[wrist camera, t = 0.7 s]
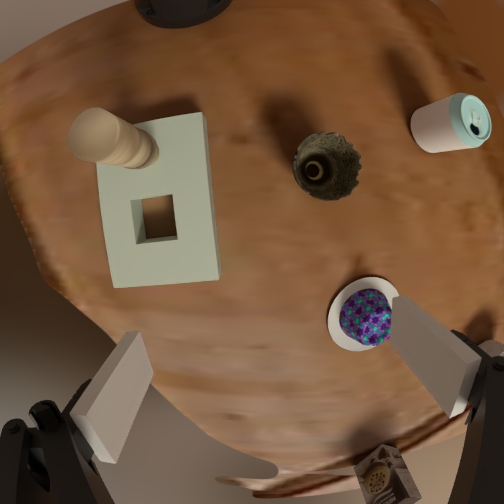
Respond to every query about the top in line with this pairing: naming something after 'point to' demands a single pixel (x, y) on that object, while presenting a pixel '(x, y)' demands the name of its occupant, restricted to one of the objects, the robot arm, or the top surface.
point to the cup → (327, 166)
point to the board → (185, 208)
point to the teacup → (492, 348)
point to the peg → (111, 141)
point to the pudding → (362, 314)
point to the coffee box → (386, 478)
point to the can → (451, 124)
